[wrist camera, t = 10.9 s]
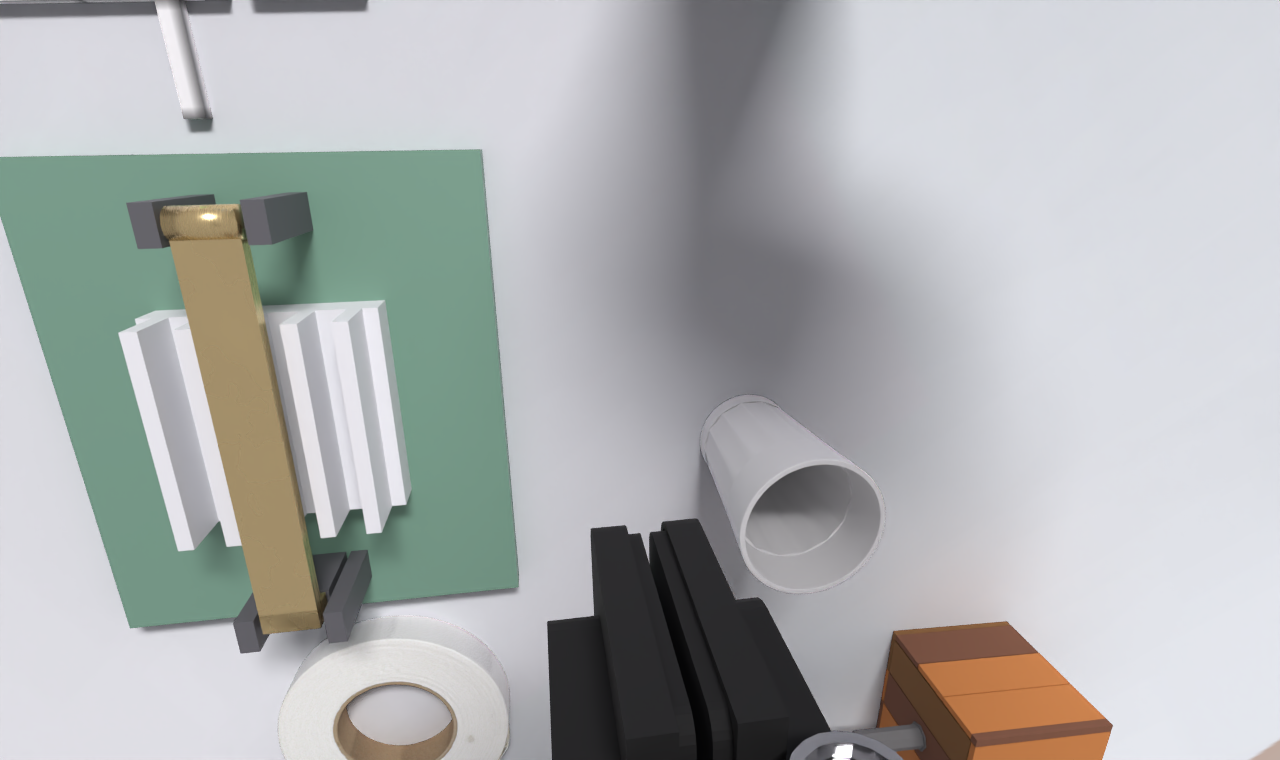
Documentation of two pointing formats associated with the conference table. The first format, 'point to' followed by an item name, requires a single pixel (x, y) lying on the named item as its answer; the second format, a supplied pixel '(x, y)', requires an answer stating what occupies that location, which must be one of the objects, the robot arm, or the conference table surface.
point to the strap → (246, 410)
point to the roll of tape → (389, 655)
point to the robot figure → (171, 52)
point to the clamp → (981, 700)
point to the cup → (790, 497)
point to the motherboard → (279, 370)
